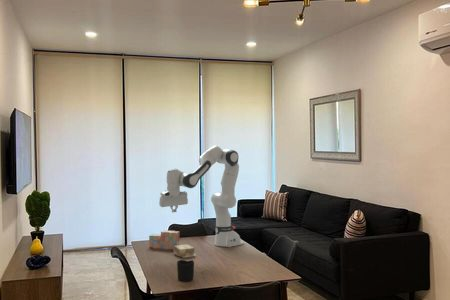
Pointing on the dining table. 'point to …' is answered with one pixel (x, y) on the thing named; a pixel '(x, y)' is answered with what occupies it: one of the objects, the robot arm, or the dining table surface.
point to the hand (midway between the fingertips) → (174, 212)
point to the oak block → (184, 250)
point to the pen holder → (185, 270)
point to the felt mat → (189, 256)
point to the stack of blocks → (164, 240)
